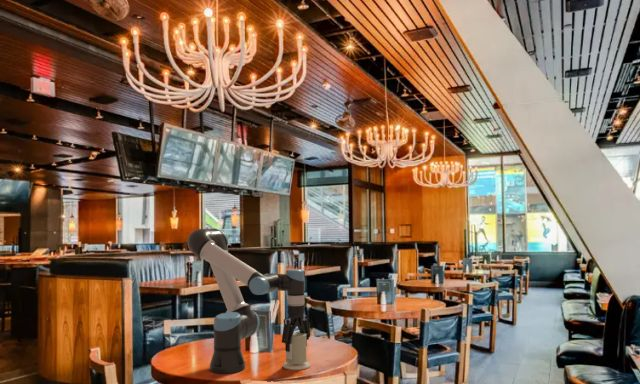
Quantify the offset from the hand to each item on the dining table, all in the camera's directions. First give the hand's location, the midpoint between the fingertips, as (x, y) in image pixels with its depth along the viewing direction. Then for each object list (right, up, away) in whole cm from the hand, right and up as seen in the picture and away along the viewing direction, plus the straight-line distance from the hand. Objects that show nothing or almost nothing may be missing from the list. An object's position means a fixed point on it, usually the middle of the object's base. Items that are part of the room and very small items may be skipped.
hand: (296, 356), depth 226 cm
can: (0, -2, 0) cm, 2 cm away
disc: (0, -4, 0) cm, 4 cm away
